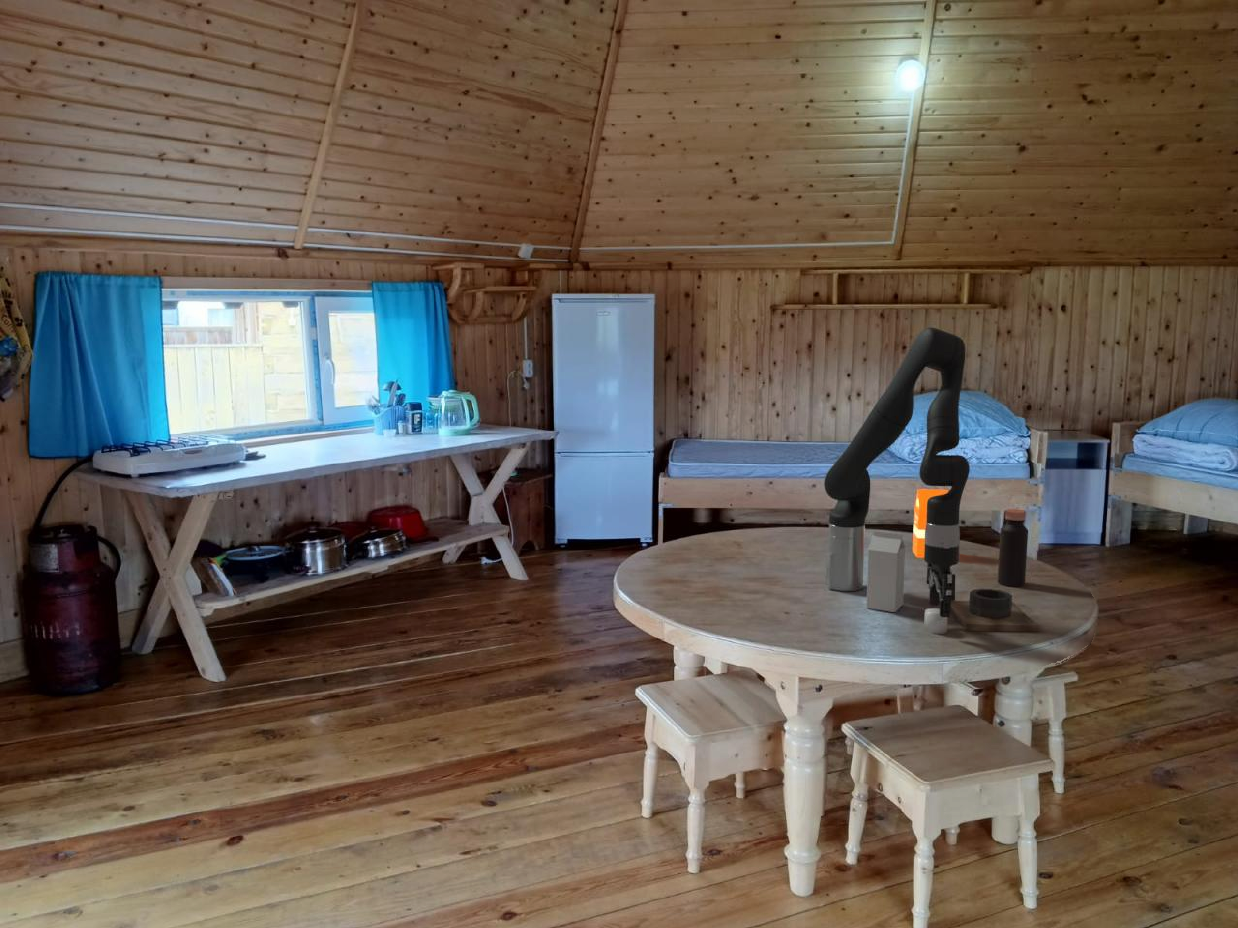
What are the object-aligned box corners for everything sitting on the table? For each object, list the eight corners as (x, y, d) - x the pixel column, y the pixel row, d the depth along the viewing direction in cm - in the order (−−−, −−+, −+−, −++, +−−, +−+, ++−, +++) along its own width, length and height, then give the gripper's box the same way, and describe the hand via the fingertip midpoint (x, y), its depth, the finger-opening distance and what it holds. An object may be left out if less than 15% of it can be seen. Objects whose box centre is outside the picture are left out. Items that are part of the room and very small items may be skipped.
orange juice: (912, 551, 288) (915, 487, 285) (942, 551, 287) (945, 487, 284) (916, 557, 281) (919, 491, 278) (947, 558, 280) (950, 492, 276)
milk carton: (894, 612, 230) (898, 537, 227) (866, 608, 233) (868, 533, 230) (903, 605, 236) (906, 531, 233) (874, 600, 239) (877, 527, 236)
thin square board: (966, 630, 217) (967, 605, 216) (945, 606, 234) (946, 583, 233) (1037, 631, 216) (1039, 606, 215) (1011, 607, 233) (1012, 583, 232)
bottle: (993, 580, 257) (998, 508, 254) (1019, 580, 257) (1023, 508, 254) (1003, 587, 250) (1007, 513, 247) (1029, 587, 250) (1033, 513, 247)
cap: (927, 633, 215) (927, 614, 214) (921, 626, 220) (922, 607, 219) (949, 634, 215) (950, 615, 214) (943, 626, 219) (944, 608, 219)
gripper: (917, 535, 221) (915, 601, 224) (933, 549, 207) (931, 620, 210) (949, 534, 221) (947, 601, 223) (968, 549, 207) (965, 620, 209)
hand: (939, 610), depth 216 cm, fingers open, 8 cm apart
